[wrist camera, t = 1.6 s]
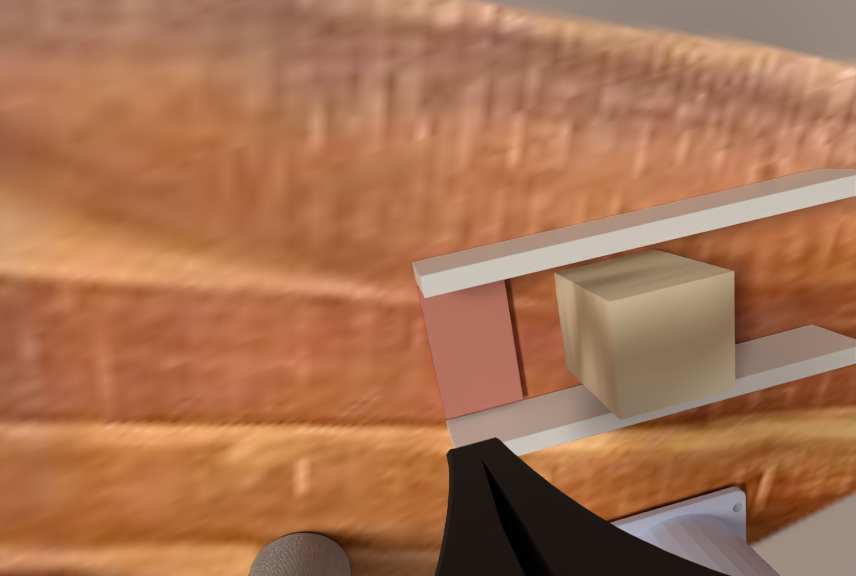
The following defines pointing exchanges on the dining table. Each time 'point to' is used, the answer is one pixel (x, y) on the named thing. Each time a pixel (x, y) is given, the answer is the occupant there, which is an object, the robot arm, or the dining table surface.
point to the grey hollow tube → (301, 557)
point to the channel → (577, 406)
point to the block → (648, 330)
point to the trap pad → (472, 348)
